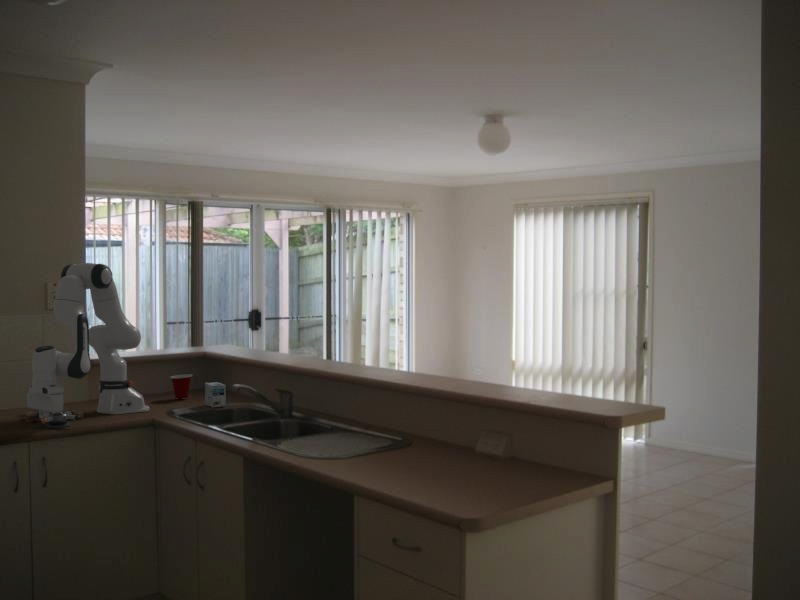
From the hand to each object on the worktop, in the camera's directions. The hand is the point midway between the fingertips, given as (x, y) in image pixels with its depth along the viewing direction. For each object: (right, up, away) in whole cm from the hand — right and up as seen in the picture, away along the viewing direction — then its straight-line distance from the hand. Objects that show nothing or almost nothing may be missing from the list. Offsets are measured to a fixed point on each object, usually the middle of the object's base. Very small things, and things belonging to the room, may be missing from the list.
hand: (44, 421), depth 302 cm
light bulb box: (+54, -2, +57) cm, 79 cm away
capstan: (+3, -1, +6) cm, 6 cm away
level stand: (-5, -2, +22) cm, 22 cm away
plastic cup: (+33, -1, +75) cm, 82 cm away
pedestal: (+3, -3, +6) cm, 7 cm away
